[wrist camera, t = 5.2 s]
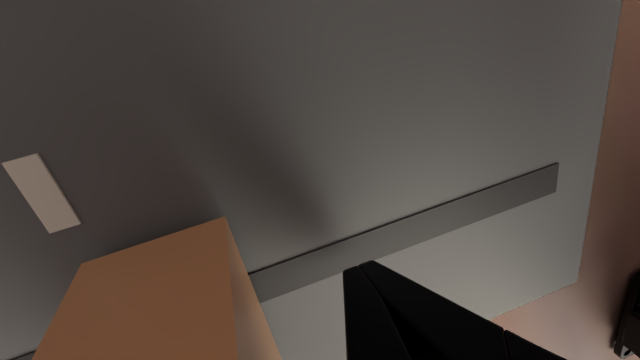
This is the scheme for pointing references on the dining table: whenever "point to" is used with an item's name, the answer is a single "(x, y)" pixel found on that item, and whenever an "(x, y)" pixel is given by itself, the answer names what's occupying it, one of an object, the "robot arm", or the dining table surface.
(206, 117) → the console board
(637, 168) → the dining table surface
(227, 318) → the orange fader
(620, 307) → the dining table surface
